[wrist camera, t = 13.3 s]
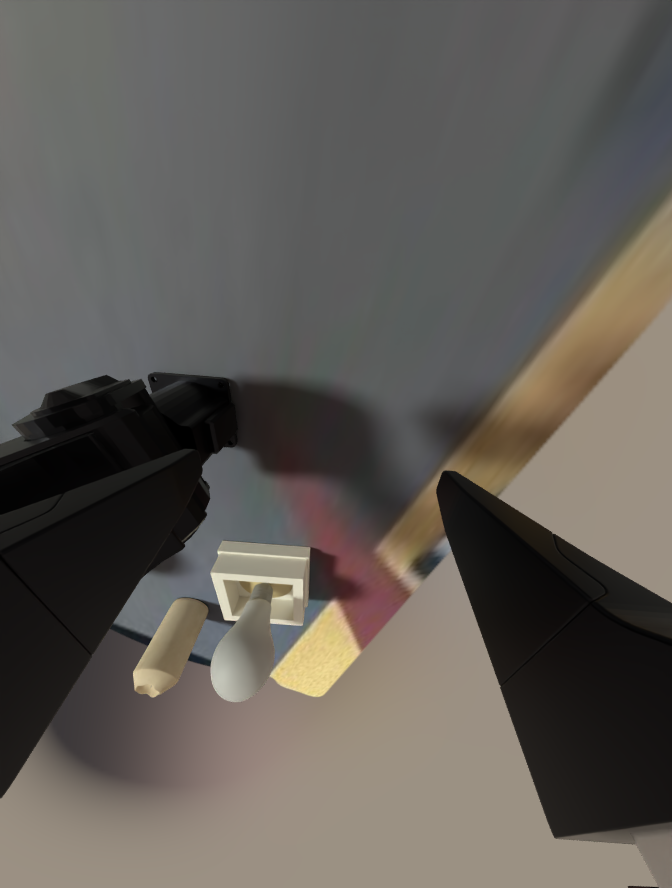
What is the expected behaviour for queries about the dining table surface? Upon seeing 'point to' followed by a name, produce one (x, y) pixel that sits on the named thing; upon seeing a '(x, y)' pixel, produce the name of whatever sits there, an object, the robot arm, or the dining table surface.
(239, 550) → the socket
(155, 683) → the candle
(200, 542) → the dining table surface
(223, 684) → the lightbulb
